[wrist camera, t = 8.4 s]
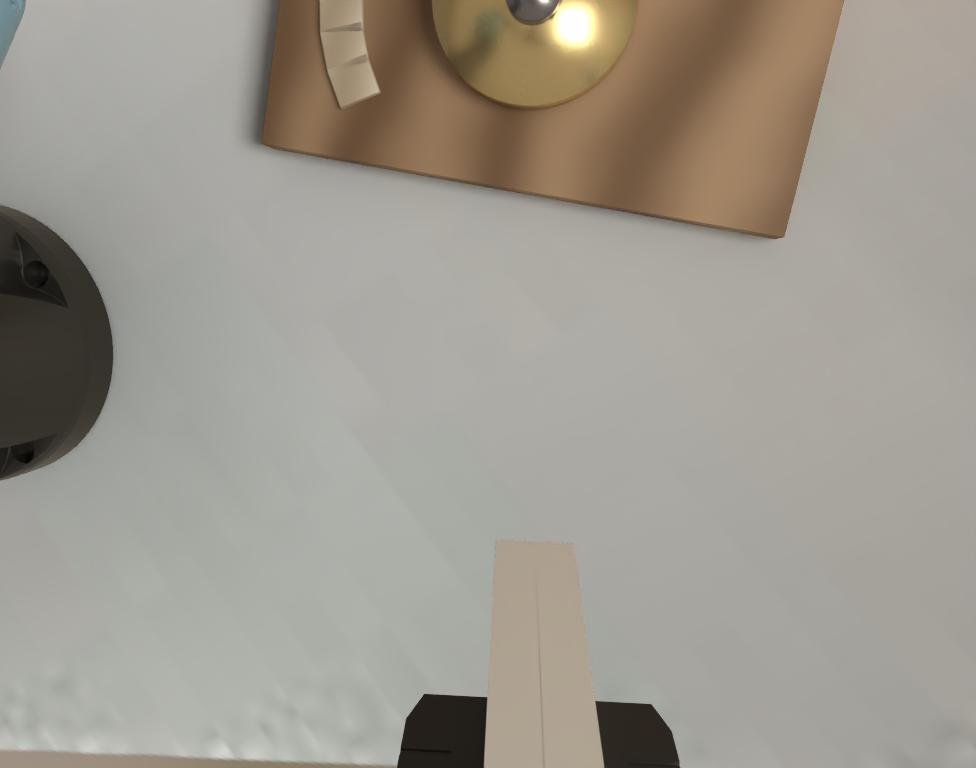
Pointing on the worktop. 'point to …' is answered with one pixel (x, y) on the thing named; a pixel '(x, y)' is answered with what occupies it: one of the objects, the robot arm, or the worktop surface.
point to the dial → (534, 46)
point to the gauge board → (570, 108)
